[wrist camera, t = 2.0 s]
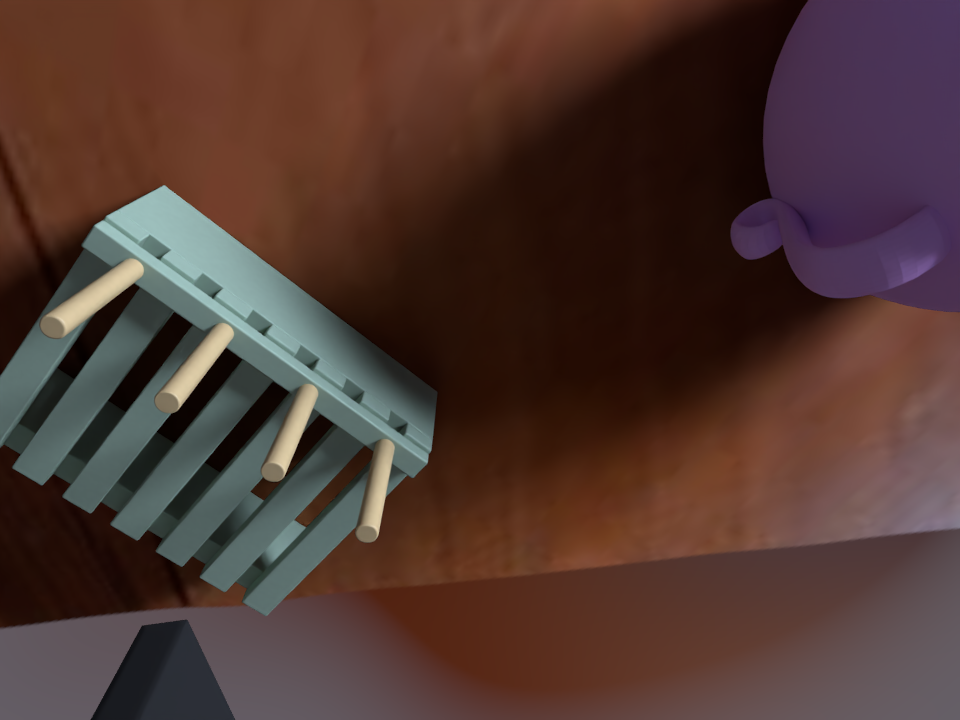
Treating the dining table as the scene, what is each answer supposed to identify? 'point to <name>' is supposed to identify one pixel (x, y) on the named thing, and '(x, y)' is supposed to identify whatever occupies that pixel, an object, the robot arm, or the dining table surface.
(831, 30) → the teapot
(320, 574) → the dining table surface
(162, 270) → the rack
